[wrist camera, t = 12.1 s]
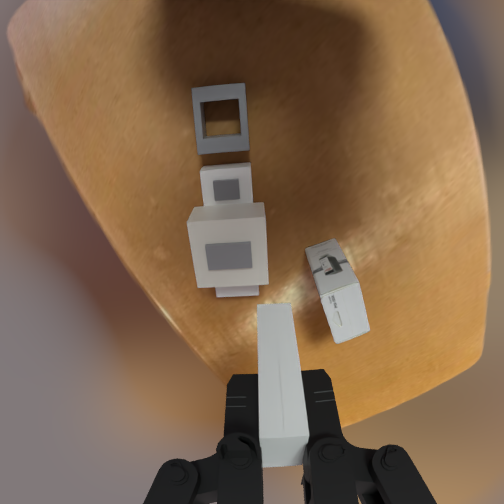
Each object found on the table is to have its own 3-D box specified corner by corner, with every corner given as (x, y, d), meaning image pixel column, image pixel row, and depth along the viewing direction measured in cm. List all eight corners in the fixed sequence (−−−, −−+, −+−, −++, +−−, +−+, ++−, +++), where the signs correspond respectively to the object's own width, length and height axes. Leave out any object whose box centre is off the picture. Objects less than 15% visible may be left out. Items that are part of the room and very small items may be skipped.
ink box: (348, 283, 46) (372, 333, 36) (319, 293, 47) (336, 346, 37) (335, 235, 43) (360, 281, 32) (303, 247, 43) (319, 296, 33)
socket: (203, 165, 38) (198, 172, 35) (250, 162, 38) (250, 168, 35) (218, 285, 46) (216, 299, 43) (258, 283, 46) (259, 297, 43)
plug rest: (195, 89, 33) (191, 88, 31) (245, 84, 33) (244, 82, 31) (201, 150, 37) (197, 154, 34) (249, 146, 37) (249, 150, 34)
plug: (197, 200, 40) (185, 224, 32) (262, 196, 39) (265, 219, 32) (205, 258, 44) (197, 290, 36) (265, 254, 43) (268, 287, 36)
